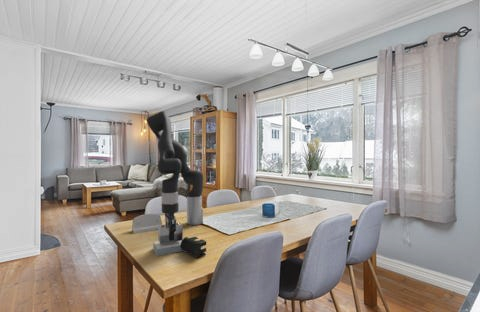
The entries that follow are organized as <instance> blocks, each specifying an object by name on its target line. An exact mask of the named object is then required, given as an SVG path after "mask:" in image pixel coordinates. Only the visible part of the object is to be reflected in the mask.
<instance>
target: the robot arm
mask: <svg viewBox="0 0 480 312" xmlns="http://www.w3.org/2000/svg"><path fill="white" fill-rule="evenodd" d="M146 122H147V126H148V127H149V129H150V130H151V131H152V133H153V135H154V136H155V137H156V138H157V139H158V141H157V148H158V154H159V157H158V163H157V171H158V172H159V173H160V174H162V175H169V174H170V175H171V174H172V175H171V177H168V178H166V179H163V180H162V183H161V213H163V214H164V221H165V222H164V223H165V224H166V225H167V227H169V240H170V241H172V240H174V232H176V223H177V219H176V218H177V217H176V216H175V213H178V212H179V208H180V207H179V186H178V185H179V177H180V175H181V177H182V179H183V181H184V183H185V184H186V185H190V186H192V188H191V189H190V190H188V191H187V192H186V225H190V226H198V225H201V224H203V223H204V208H203V206H202V205H203V196H202V195H203V194H202V193H203V191H204V174H203V173H202V171H201V170H192V169H191V168H190V166H189V165H188V162H187V161H188V160H187V159H188V154H187V151H186V149H185V147H184V146H183V145H182V143H180V142H179V141H177V140H175V139H173V138H172V135H173V134H172V133H173V132H172V121H171V118H170V117H169V115H168V113H167V112H166V111H160V112H156V113H154V114H152V115H150V116H148V117H147V118H146ZM165 224H164V225H165ZM171 228H173V229H171Z"/></svg>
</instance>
